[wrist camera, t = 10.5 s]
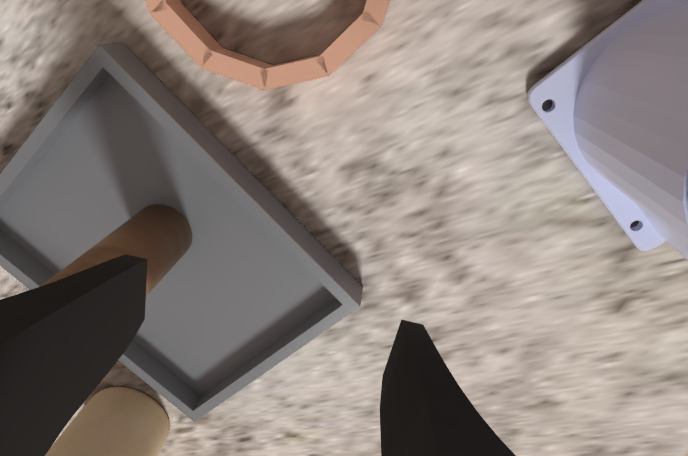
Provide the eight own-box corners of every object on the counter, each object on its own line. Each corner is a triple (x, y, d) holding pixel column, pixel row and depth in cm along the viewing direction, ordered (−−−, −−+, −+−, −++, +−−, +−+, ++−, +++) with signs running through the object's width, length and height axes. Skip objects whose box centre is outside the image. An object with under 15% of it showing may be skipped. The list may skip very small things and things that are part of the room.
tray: (362, 287, 24) (360, 306, 23) (206, 398, 29) (194, 421, 27) (123, 42, 20) (99, 45, 19) (-15, 216, 25) (-44, 230, 23)
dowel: (195, 212, 23) (82, 321, 15) (189, 264, 24) (83, 390, 16) (136, 197, 23) (-10, 298, 15) (134, 249, 24) (-2, 368, 16)
